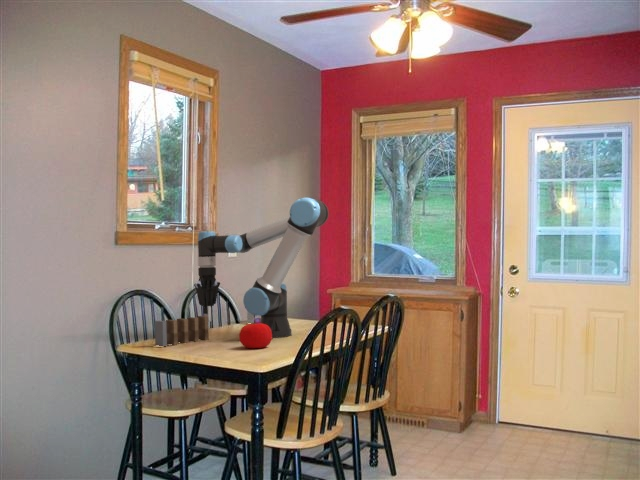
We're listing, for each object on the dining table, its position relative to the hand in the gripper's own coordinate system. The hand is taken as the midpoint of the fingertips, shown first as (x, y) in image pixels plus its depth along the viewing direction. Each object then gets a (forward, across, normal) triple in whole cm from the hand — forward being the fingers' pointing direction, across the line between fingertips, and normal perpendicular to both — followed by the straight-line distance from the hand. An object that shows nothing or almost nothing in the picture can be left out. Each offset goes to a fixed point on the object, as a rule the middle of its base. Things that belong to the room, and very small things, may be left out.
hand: (207, 321), depth 273 cm
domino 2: (+8, -20, -1) cm, 21 cm away
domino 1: (+8, -25, -1) cm, 26 cm away
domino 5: (+8, -3, 0) cm, 8 cm away
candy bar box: (+8, +51, +21) cm, 56 cm away
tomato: (+8, -8, -38) cm, 39 cm away
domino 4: (+8, -9, 0) cm, 12 cm away
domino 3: (+8, -14, -1) cm, 16 cm away
